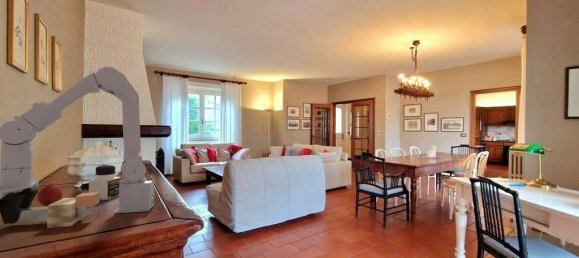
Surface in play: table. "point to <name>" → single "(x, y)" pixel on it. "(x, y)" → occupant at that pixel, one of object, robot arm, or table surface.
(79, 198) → the block
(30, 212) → the bar
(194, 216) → the table surface
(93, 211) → the table surface
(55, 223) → the bearing block
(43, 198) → the onion
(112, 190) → the medicine bottle
